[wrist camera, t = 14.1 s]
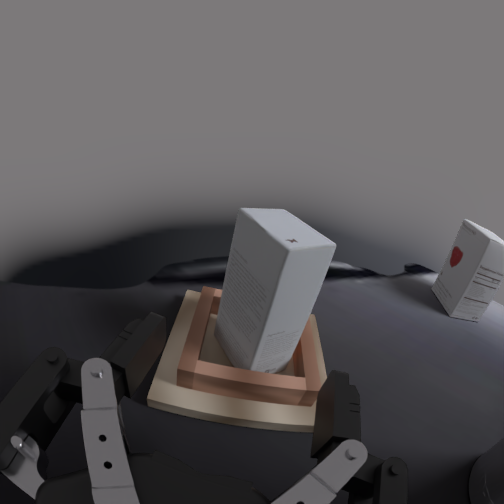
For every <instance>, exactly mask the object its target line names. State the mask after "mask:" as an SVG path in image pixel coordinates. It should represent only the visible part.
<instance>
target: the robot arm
mask: <svg viewBox="0 0 504 504" xmlns="http://www.w3.org/2000/svg"><path fill="white" fill-rule="evenodd" d="M165 342H166V317H163V316H161V315H158V314H156V313H153V312H150V313H149V314H148V315H147V317H146V318H145V319H144V320H142V319H140V318H137V319H135V320H133V321H132V322H130V323H129V324H128V325H127V326H126V327H125V328H124V329H123V331H122V332H121V333H120V334H119V335H118V337H116V339H115V340H114V341H113V342H112V343H111V344H110V346H109V347H108V348H107V349H106V350H105V351H104V353H103V354H102V355H101V356H100V357H99V358H92V359H89V360H87V361H86V362H82V361H77V360H73V359H69V358H67V356H66V354H65V352H64V351H63V350H62V349H60V348H56V347H51V348H48V349H46V350H44V351H43V352H42V353H41V354H40V355H39V357H38V358H37V359H36V360H35V361H34V362H33V363H32V365H31V366H30V367H29V368H28V369H27V371H26V372H25V373H24V374H23V375H22V377H21V378H20V379H19V380H18V381H17V383H16V384H15V385H14V386H13V388H12V389H11V390H10V391H9V393H8V394H7V395H6V397H5V398H4V399H3V400H2V402H1V403H0V473H1V474H2V475H4V476H5V477H7V478H9V479H10V480H11V481H12V482H13V483H15V484H16V485H17V486H18V487H19V488H21V489H22V490H23V491H24V492H26V493H27V494H28V495H30V496H31V497H32V498H34V499H35V504H329V503H330V502H331V501H332V500H333V499H334V498H335V497H336V496H337V492H338V491H339V490H340V489H342V490H345V491H347V492H349V499H348V504H407V497H408V468H407V465H406V463H405V462H404V461H403V460H402V459H400V458H398V457H391V458H388V459H387V460H382V459H380V458H377V457H375V456H372V455H370V454H369V453H368V452H367V449H366V447H365V446H364V445H363V444H362V443H361V421H360V406H359V405H360V396H359V393H358V391H357V389H356V387H355V386H354V385H349V374H348V373H345V372H340V371H336V370H332V371H331V373H330V374H329V376H328V377H327V379H326V380H325V382H324V384H323V385H322V387H321V388H320V390H319V392H318V396H317V401H316V412H315V422H314V431H313V440H312V449H311V457H310V458H317V459H318V460H317V465H316V466H315V467H314V468H312V469H311V470H310V471H309V472H308V473H307V474H305V475H304V476H303V477H302V478H301V479H299V480H298V481H297V482H296V483H294V484H293V485H292V486H291V487H289V488H288V489H287V490H285V491H284V492H283V493H281V494H280V495H278V496H277V497H276V498H274V499H273V500H272V501H269V499H267V498H266V497H265V496H264V495H263V494H262V493H261V492H259V491H258V490H256V489H254V488H252V484H253V482H249V481H245V480H241V479H237V478H234V477H230V476H220V475H209V474H202V473H199V472H197V471H196V470H194V469H193V468H191V467H189V466H188V465H186V464H185V463H183V462H182V461H180V460H179V459H176V458H174V457H171V456H169V455H166V454H164V453H162V452H159V451H157V450H155V451H154V453H153V454H148V453H134V454H132V453H131V449H130V446H129V442H128V439H127V435H126V430H125V426H124V421H123V416H122V411H121V405H120V400H121V399H122V397H123V396H126V397H128V398H130V399H131V397H132V396H133V394H134V393H135V391H136V390H137V388H138V387H139V385H140V384H141V382H142V381H143V379H144V378H145V376H146V375H147V373H148V372H149V370H150V368H151V367H152V365H153V364H154V362H155V361H156V359H157V358H158V356H159V355H160V353H161V352H162V350H163V348H164V346H165ZM76 402H77V403H81V404H83V409H82V410H81V420H82V430H83V438H84V445H85V451H86V457H87V463H88V468H86V469H83V470H79V471H76V472H72V473H69V474H65V475H61V476H57V477H53V478H50V479H47V475H46V470H47V467H48V463H49V460H48V456H47V454H46V452H45V451H46V449H47V447H48V446H49V444H50V442H51V441H52V439H53V438H54V436H55V434H56V433H57V431H58V430H59V428H60V426H61V425H62V423H63V422H64V420H65V419H66V417H67V416H68V414H69V413H70V411H71V409H72V408H73V406H74V405H75V403H76ZM469 496H470V501H471V504H504V438H503V439H501V440H500V441H499V442H498V443H497V444H495V445H494V446H493V447H492V448H491V449H489V450H488V451H487V452H486V453H484V454H483V455H482V456H480V457H479V458H478V459H477V461H476V462H475V464H474V466H473V468H472V470H471V474H470V479H469Z"/></svg>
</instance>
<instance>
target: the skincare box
mask: <svg viewBox="0 0 504 504" xmlns="http://www.w3.org/2000/svg"><path fill="white" fill-rule="evenodd" d="M335 248H336V244H335V243H334V242H332V241H331V240H329V239H328V238H326V237H325V236H323V235H322V234H320V233H319V232H317V231H316V230H314V229H313V228H311V227H310V226H309V225H307V224H306V223H304V222H303V221H301V220H300V219H298V218H297V217H295V216H294V215H292V214H291V213H289V212H287V211H286V210H284V209H257V208H240V209H239V211H238V216H237V221H236V226H235V231H234V235H233V240H232V245H231V250H230V255H229V260H228V264H227V269H226V274H225V279H224V284H223V289H222V294H221V300H220V305H219V310H218V315H217V320H216V325H215V331H214V336H215V337H216V339H217V341H218V342H219V344H220V346H221V347H222V349H223V350H224V352H225V354H226V355H227V357H228V358H229V360H230V361H231V363H232V365H233V366H234V368H240V369H246V370H252V371H258V372H265V373H271V374H274V373H277V372H280V371H283V370H285V369H286V368H287V366H288V364H289V361H290V359H291V357H292V355H293V352H294V350H295V348H296V346H297V344H298V341H299V339H300V337H301V334H302V332H303V330H304V327H305V325H306V323H307V320H308V318H309V316H310V313H311V311H312V308H313V306H314V303H315V301H316V298H317V296H318V293H319V291H320V288H321V286H322V283H323V281H324V278H325V275H326V273H327V270H328V267H329V265H330V262H331V260H332V257H333V254H334V251H335Z"/></svg>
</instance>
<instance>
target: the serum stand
mask: <svg viewBox="0 0 504 504" xmlns="http://www.w3.org/2000/svg"><path fill="white" fill-rule="evenodd" d="M221 294H222V290H219V289H215V288H210V287H205V286H203V289H202V292H201V293H200V292H195V291H191V290H187V292H186V295H185V297H184V300H183V302H182V305H181V308H180V310H179V313H178V315H177V318H176V320H175V323H174V325H173V328H172V331H171V333H170V336H169V338H168V341H167V344H166V346H165V349H164V352H163V354H162V357H161V360H160V363H159V365H158V368H157V371H156V374H155V376H154V379H153V382H152V385H151V388H150V391H149V393H148V396H147V403H148V406H149V407H152V408H156V409H160V410H163V411H167V412H171V413H175V414H179V415H183V416H188V417H192V418H197V419H202V420H207V421H212V422H218V423H223V424H229V425H236V426H243V427H250V428H259V429H268V430H279V431H292V432H312V433H313V431H314V422H315V412H316V401H317V396H318V392H319V390H320V388H321V387H322V385H323V384H324V382H325V380H326V379H327V376H326V370H325V365H324V359H323V354H322V349H321V344H320V339H319V334H318V329H317V324H316V319H315V315H313V314H310V316H309V318H308V320H307V323H306V325H305V327H304V330H303V332H302V334H301V337H300V339H299V341H298V344H297V346H296V348H295V350H294V352H293V355H292V357H291V359H290V361H289V364H288V366H287V368H286V369H285V370H283V371H280V372H277V373H274V374H271V373H265V372H258V371H252V370H246V369H240V368H234V366H233V365H232V363H231V361H230V360H229V358H228V357H227V355H226V354H225V352H224V350H223V349H222V347H221V346H220V344H219V342H218V341H217V339H216V337H215V336H214V331H215V325H216V320H217V315H218V310H219V305H220V300H221Z"/></svg>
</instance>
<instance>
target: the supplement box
mask: <svg viewBox="0 0 504 504" xmlns="http://www.w3.org/2000/svg"><path fill="white" fill-rule="evenodd" d="M503 279H504V241H503V240H502V239H500V238H499V237H498V236H497V235H495V234H494V233H492V232H491V231H489V230H487V229H485V228H483V227H481V226H479V225H477V224H475V223H473V222H471V221H469V220H467V219H464V220H463V222H462V225H461V227H460V230H459V232H458V234H457V237H456V239H455V242H454V244H453V246H452V248H451V250H450V253H449V255H448V257H447V259H446V261H445V263H444V265H443V267H442V269H441V271H440V273H439V275H438V277H437V279H436V281H435V283H434V285H433V287H432V291H433V292H434V294H435V295H436V297H437V298H438V300H439V301H440V303H441V304H442V306H443V307H444V309H445V310H446V312H447V313H448V315H449V316H450V317H454V318H459V319H464V320H470V321H476V322H479V320H480V319H481V317H482V315H483V314H484V312H485V311H486V309H487V307H488V306H489V304H490V302H491V301H492V299H493V297H494V295H495V294H496V292H497V290H498V288H499V286H500V285H501V283H502V281H503Z"/></svg>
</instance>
